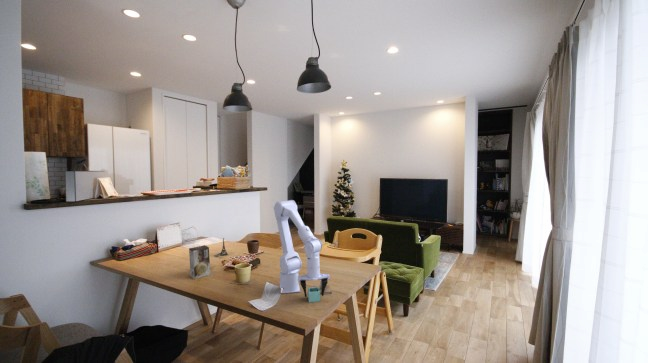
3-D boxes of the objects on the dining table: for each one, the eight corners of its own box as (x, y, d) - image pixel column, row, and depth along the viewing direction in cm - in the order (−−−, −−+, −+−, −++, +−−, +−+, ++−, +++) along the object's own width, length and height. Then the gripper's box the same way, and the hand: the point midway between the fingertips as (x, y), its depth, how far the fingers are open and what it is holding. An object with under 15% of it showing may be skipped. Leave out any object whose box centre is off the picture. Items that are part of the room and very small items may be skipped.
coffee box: (206, 272, 169) (205, 244, 168) (210, 274, 164) (209, 246, 164) (189, 276, 163) (188, 248, 162) (194, 279, 158) (193, 250, 157)
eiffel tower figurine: (224, 251, 212) (223, 233, 211) (236, 252, 209) (235, 234, 208) (210, 258, 197) (209, 238, 197) (223, 259, 194) (222, 239, 194)
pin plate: (315, 294, 136) (315, 285, 136) (313, 287, 144) (313, 279, 144) (331, 293, 137) (331, 284, 137) (329, 286, 145) (329, 277, 145)
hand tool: (256, 263, 184) (255, 256, 183) (260, 264, 182) (260, 257, 181) (233, 273, 167) (232, 265, 167) (238, 274, 165) (237, 266, 165)
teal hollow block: (309, 302, 129) (308, 292, 128) (308, 297, 134) (307, 287, 133) (320, 301, 129) (319, 291, 129) (318, 296, 134) (318, 287, 134)
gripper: (297, 270, 126) (298, 300, 126) (330, 268, 128) (331, 298, 128) (297, 265, 133) (297, 293, 133) (328, 263, 135) (328, 291, 135)
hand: (314, 295), depth 131 cm, fingers open, 7 cm apart
